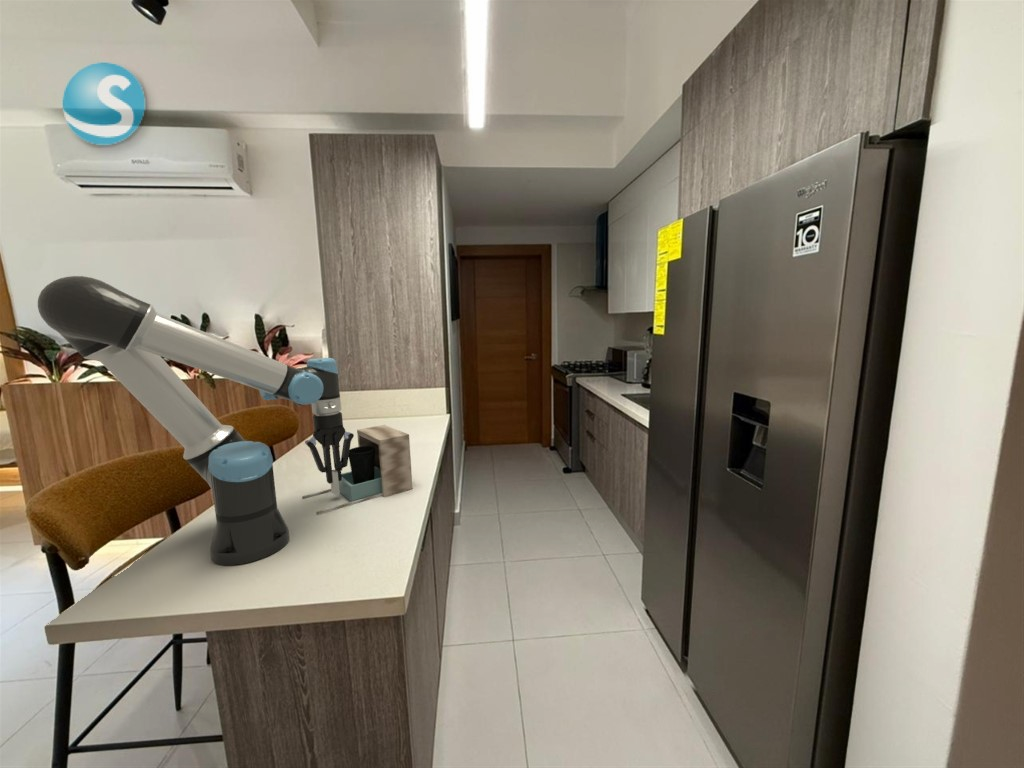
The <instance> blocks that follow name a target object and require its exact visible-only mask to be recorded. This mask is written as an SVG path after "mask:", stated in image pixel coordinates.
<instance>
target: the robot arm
mask: <svg viewBox="0 0 1024 768" xmlns="http://www.w3.org/2000/svg"><path fill="white" fill-rule="evenodd" d="M37 310H38V313H39V315H40V317H41V318H42V320H43V321H44V322H45V324H47V326H48V327H50V328H52V329H53V330H54V331H56V332H57V333H58V334H59V335H61V337H63V339H64V340H65V341H67V343H69V345H70V346H72V348H74V350H75V351H76V352H77V353H79V354H80V355H81V357H82V358H84V360H90V361H97V362H100V363H101V364H102V365H103V366H104V367H105V368H106V369H107V370H108V371H109V372H110V373H111V374H112V376H113V377H115V378H116V379H117V380H118V382H120V383H121V385H123V387H124V388H125V389H127V391H128V392H129V393H130V394H131V395H132V396H134V398H135V399H136V400H137V401H138V402H139V403H140V405H142V406H143V407H144V408H145V409H146V410H147V411H148V412H149V413H150V414H151V415H152V416H153V417H154V418H155V420H156V421H158V422H159V424H161V426H163V428H164V429H166V431H168V433H169V434H170V435H171V436H172V437H174V439H175V440H176V441H177V442H178V443H179V444H180V445H181V446H182V447H183V448H184V451H183V455H182V457H183V459H184V460H185V461H186V463H188V464H189V465H190V467H192V469H194V470H195V471H196V472H197V473H198V475H200V477H201V478H202V479H203V480H205V482H206V483H207V484H208V486H209V488H210V489H211V491H212V497H213V504H214V512H215V519H216V522H215V523H216V524H215V528H214V531H213V535H212V538H211V542H210V543H211V544H210V549H209V552H210V558H211V561H212V562H213V563H215V564H217V565H221V566H235V565H236V566H237V565H243V564H248V563H252V562H255V561H259V560H261V559H263V558H267V557H269V556H271V555H273V554H275V553H276V552H278V551H280V550H281V549H282V548H284V547H285V546H286V545H287V544H288V542H289V541H290V533H289V531H290V530H289V528H288V525H287V523H286V521H285V520H284V518H283V516H282V515H281V513H280V510H279V508H278V502H277V491H276V483H275V475H274V474H275V473H274V466H273V463H274V458H273V455H272V452H271V448H270V447H269V446H268V444H265V443H263V442H261V441H252V440H245V439H244V438H243V436H242V435H241V434H240V433H239V431H237V430H236V429H235V427H234V426H233V425H229V424H227V425H226V424H222V423H221V422H220V421H219V420H218V419H217V418H216V416H214V414H212V413H211V411H210V410H209V408H207V406H206V405H205V404H204V403H203V402H202V400H200V399H199V398H198V397H197V395H196V394H195V393H194V392H193V391H192V390H191V389H190V388H189V387H188V385H187V384H186V383H185V382H184V380H182V379H181V378H180V377H179V376H178V374H177V373H176V372H175V371H174V370H173V368H172V367H170V365H169V364H168V363H167V362H166V361H165V359H168V360H171V361H174V362H176V363H179V364H183V365H185V366H189V367H192V368H195V369H197V370H200V371H203V372H206V373H209V374H211V375H215V376H217V377H220V378H224V379H227V380H229V381H232V382H236V383H239V384H241V385H244V386H247V387H251V388H253V389H255V390H258V392H259V394H260V397H261V398H262V399H263V400H264V401H271V400H272V401H273V400H275V401H277V400H281V399H283V400H288V401H290V402H293V403H294V404H298V405H302V406H303V405H306V406H307V405H311V412H312V414H313V416H312V420H313V421H312V422H313V433H312V437H310V439H307V440H305V442H304V444H305V445H306V447H308V448H309V450H310V452H311V455H312V457H313V459H314V462H315V465H316V467H317V470H318V471H319V472H320V473H322V474H323V473H325V478H326V483H328V484H329V485H330V489H331V493H332V494H333V495H335V496H336V495H339V494H341V493H340V490H339V481H341V480H342V476H341V474H342V471H343V468H346V467H347V466H348V463H349V451H350V449H351V443H352V441H353V438H354V435H355V434H354V433H352V432H350V431H346V429H345V427H344V423H343V421H344V420H343V414H342V412H341V411H342V401H341V395H340V394H341V393H340V380H339V374H340V373H339V371H338V365H337V361H336V359H334V358H333V357H321V358H320V357H318V358H310V359H308V360H307V361H306V366H304V367H297V368H296V367H294V366H290V365H289V364H285V363H284V362H281V361H279V360H276V359H274V358H271V357H268V356H266V355H263V354H261V353H258V352H256V351H253V350H251V349H248V348H246V347H243V346H241V345H239V344H235V343H233V342H231V341H229V340H226V339H223V338H221V337H218V336H216V335H213V334H210V333H208V332H206V331H204V330H201V329H198V328H196V327H193V326H191V325H188V324H185V323H183V322H181V321H178V320H175V319H173V318H171V317H169V316H165V315H164V314H160V313H158V312H156V309H155V308H154V306H153V305H152V304H150V303H148V302H145V301H143V300H140V299H138V298H136V297H134V296H132V295H130V294H127V293H126V292H124V291H121V290H120V289H118V288H116V287H114V286H112V285H110V284H109V283H106V282H105V281H103V280H100V279H97V278H94V277H91V276H90V277H88V276H83V275H81V276H80V275H73V276H71V275H70V276H64V277H61V278H58V279H55V280H53V281H51V282H49V283H48V284H47V285H46V286H44V288H43V289H42V290H41V291H40V293H39V296H38V298H37ZM163 358H165V359H163ZM342 439H343V443H342V450H341V453H340V446H341V445H340V442H341V440H342ZM317 442H318V443H319V444H320V445H321V448H322V452H323V461H322V458H321V455H320V453H319V450H318V448H317V446H316V445H317ZM331 447H332V448H331ZM331 449H332V458H333V464H332V458H331ZM332 465H333V466H334V469H332V468H333V466H332Z"/></svg>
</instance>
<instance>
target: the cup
mask: <svg viewBox="0 0 1024 768" xmlns="http://www.w3.org/2000/svg"><path fill="white" fill-rule="evenodd" d="M348 462H349V465H350V471H351V472H352V477H353V483H354V485H355V484H359V483H363V482H366V481H370V480H374V470H375V448H374V447H371V446H361V447H358V446H356V447H353V448H350V451H349V457H348Z"/></svg>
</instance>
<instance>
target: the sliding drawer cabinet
mask: <svg viewBox="0 0 1024 768" xmlns="http://www.w3.org/2000/svg"><path fill="white" fill-rule="evenodd" d="M356 432H357V433H356V434H357V444H358V445H357V447H361V446H371V447H374V448H375V467H377V468H379V469H380V470H381V482H382V493H380V494H377V495H373V496H370V497H366V498H363V499H359V500H356V501H352V502H351V501H349V502H347V503H343V504H339V505H335V506H332V507H329V508H324V509H321V510H318V511H316V513H315V514H316V515H321V514H325V513H328V512H333V511H334V510H335V511H336V510H338V509H341V508H345V507H348V506H349V507H350V506H352V505H355V504H359V503H362V502H367V501H369V500H371V499H373V500H374V499H376V498H379V497H383V498H386V497H391V496H394V495H396V494H400V493H404V492H407V491H410V490H413V488H414V487H413V475H412V461H411V460H412V458H411V443H410V442H411V441H410V434H408V433H406V432H404V431H401V430H398V429H397V428H394V427H391V426H388V425H386V424H381V425H376V426H371V427H365V428H359V429H356ZM330 492H331V488H329V489H325V490H321V491H318V492H313V493H309V494H306V495H302V496H301V498H302V499H308V498H311V497H315V496H320V495H322V494H327V493H330ZM331 493H332V492H331Z"/></svg>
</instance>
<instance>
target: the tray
mask: <svg viewBox="0 0 1024 768" xmlns="http://www.w3.org/2000/svg"><path fill="white" fill-rule="evenodd" d="M341 476H342V480H341V481H339V490H340V493H339V494H341V495H342V496H343V497H345V498H346V499H347V500H348V501H349V502H352V501H356V500H359V499H363V498H366V497H370V496H373V495H377V494H380V493H382V482H381V470H380V469H379V468H377V467H375V470H374V480H370V481H366V482H363V483H359V484H355V485H354V483H353V477H352V472H351V470H350V471H347V472H343V473H342V472H341Z"/></svg>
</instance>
